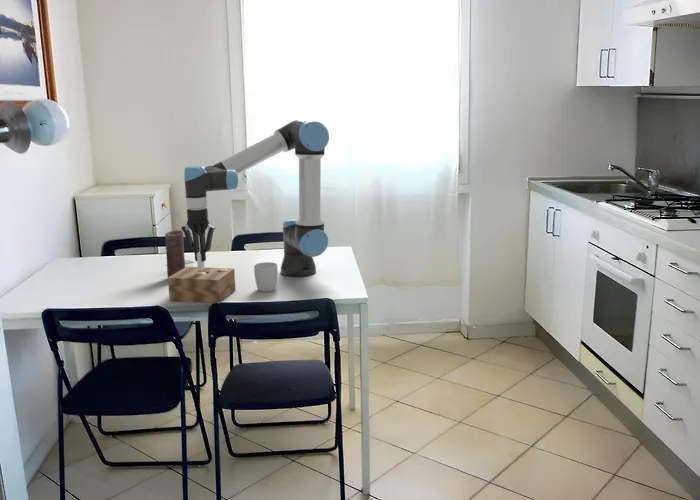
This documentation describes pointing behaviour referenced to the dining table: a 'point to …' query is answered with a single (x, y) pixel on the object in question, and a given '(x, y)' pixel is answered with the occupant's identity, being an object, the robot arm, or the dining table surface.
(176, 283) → the socket block
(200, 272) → the beech dowel
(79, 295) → the dining table surface
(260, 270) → the mug
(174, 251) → the brown cylindrical vase
